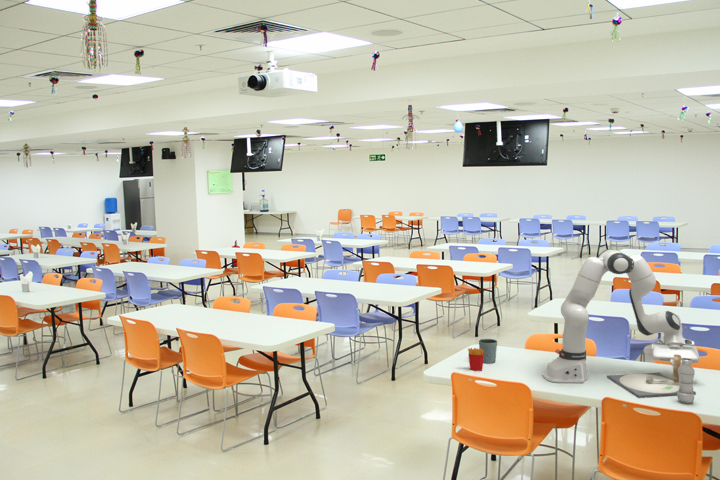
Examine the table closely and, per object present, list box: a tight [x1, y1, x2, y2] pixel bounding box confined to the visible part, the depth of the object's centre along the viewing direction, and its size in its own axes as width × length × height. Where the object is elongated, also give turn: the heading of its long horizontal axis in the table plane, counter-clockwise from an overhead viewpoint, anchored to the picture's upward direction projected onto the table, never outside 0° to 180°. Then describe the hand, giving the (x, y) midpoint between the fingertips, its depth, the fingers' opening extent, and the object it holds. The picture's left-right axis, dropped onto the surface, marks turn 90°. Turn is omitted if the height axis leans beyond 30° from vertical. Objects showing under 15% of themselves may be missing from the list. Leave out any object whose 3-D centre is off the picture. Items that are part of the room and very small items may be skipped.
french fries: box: [467, 347, 484, 372], centre depth 308 cm, size 8×4×12 cm, turn 69°
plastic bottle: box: [676, 358, 695, 404], centre depth 256 cm, size 6×7×20 cm
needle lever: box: [646, 354, 682, 383], centre depth 276 cm, size 15×3×14 cm, turn 76°
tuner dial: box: [606, 372, 697, 399], centre depth 278 cm, size 28×28×2 cm
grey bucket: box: [478, 338, 498, 365], centre depth 322 cm, size 10×10×12 cm
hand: (676, 369), depth 276 cm, fingers closed, pressing on needle lever
